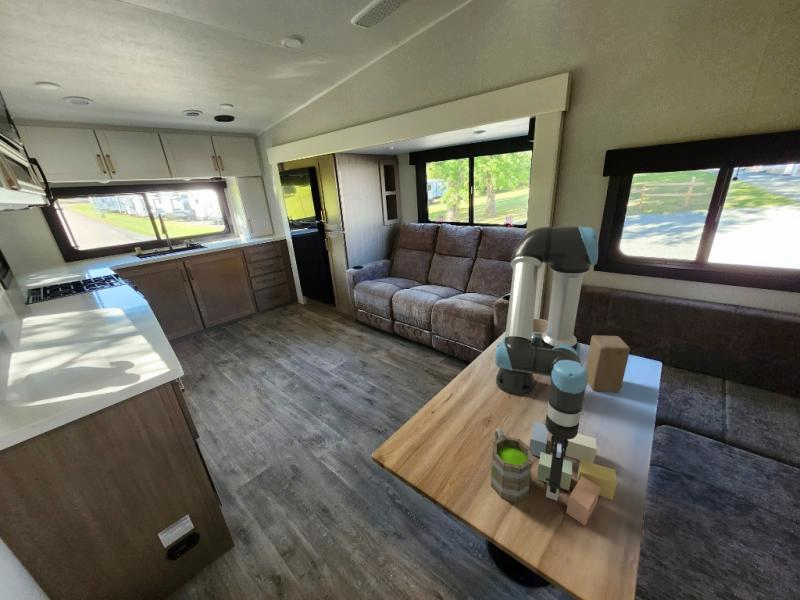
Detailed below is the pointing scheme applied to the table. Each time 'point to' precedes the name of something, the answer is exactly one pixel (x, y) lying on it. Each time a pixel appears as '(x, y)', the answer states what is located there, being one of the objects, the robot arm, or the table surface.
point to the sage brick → (546, 466)
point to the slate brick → (538, 438)
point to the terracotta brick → (583, 500)
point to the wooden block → (607, 363)
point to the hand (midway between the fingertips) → (553, 477)
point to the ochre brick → (599, 477)
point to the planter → (539, 327)
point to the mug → (511, 467)
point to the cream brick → (582, 448)
